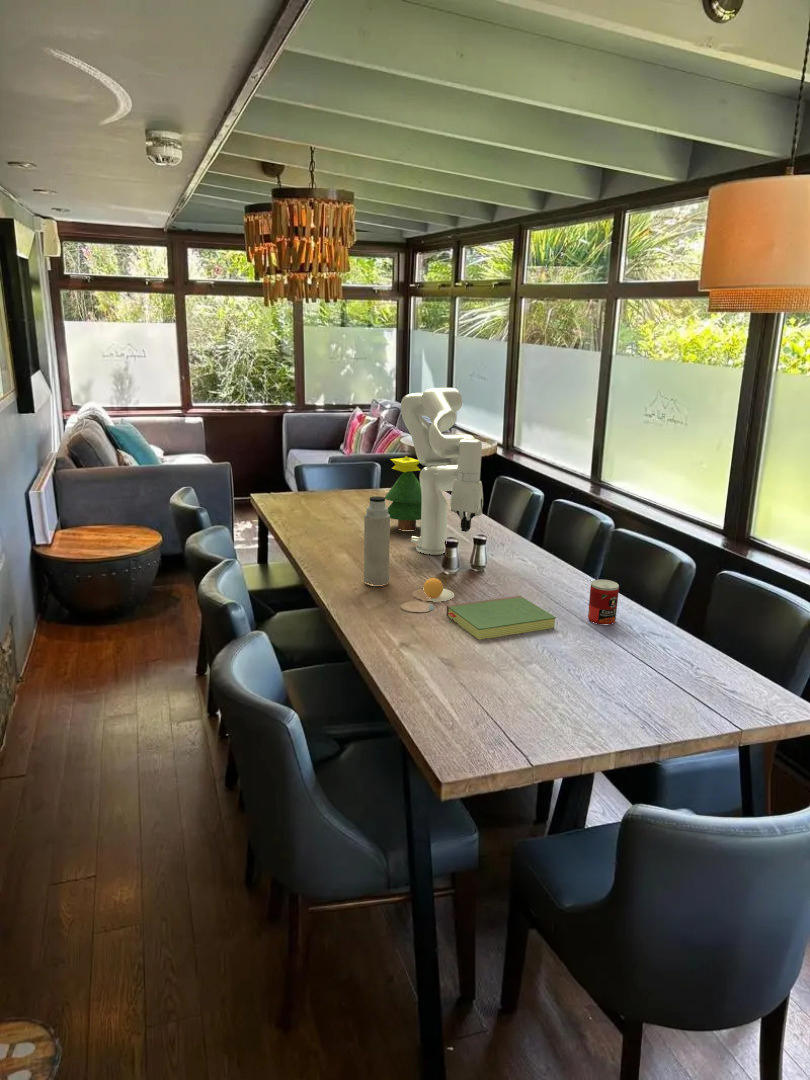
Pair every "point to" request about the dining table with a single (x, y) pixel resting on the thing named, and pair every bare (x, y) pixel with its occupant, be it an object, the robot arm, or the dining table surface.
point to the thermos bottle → (376, 542)
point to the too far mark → (431, 607)
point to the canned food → (603, 601)
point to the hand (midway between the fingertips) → (465, 530)
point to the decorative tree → (405, 495)
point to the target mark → (444, 596)
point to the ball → (433, 587)
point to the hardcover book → (500, 617)
